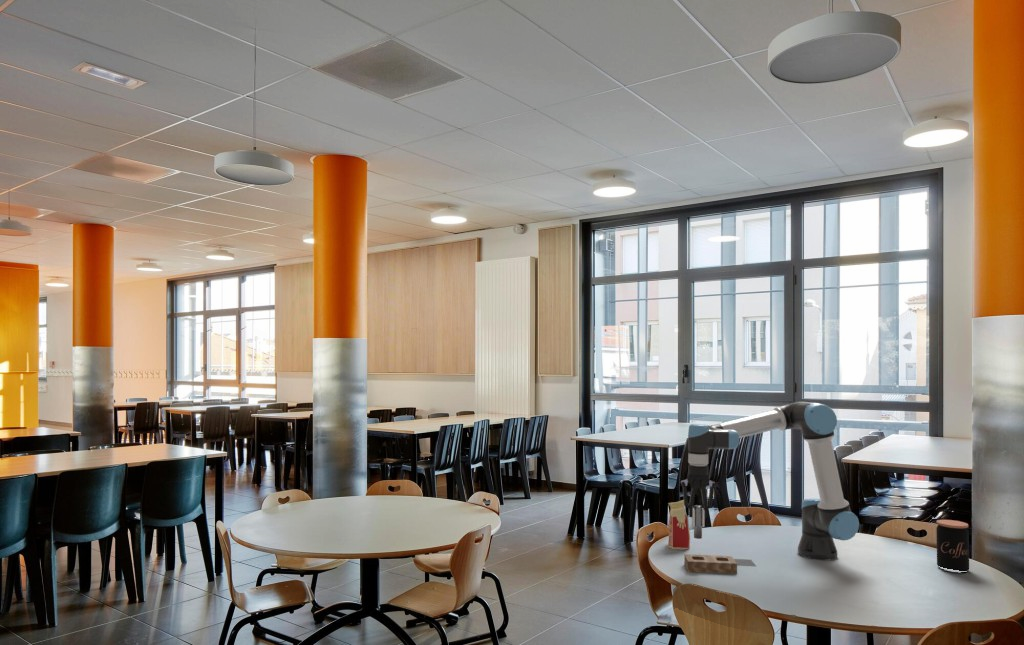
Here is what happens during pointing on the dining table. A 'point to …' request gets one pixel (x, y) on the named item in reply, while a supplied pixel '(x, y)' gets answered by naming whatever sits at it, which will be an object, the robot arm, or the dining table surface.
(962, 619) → the dining table surface
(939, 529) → the coffee jar
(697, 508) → the peg
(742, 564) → the mat
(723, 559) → the hole block
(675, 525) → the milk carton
